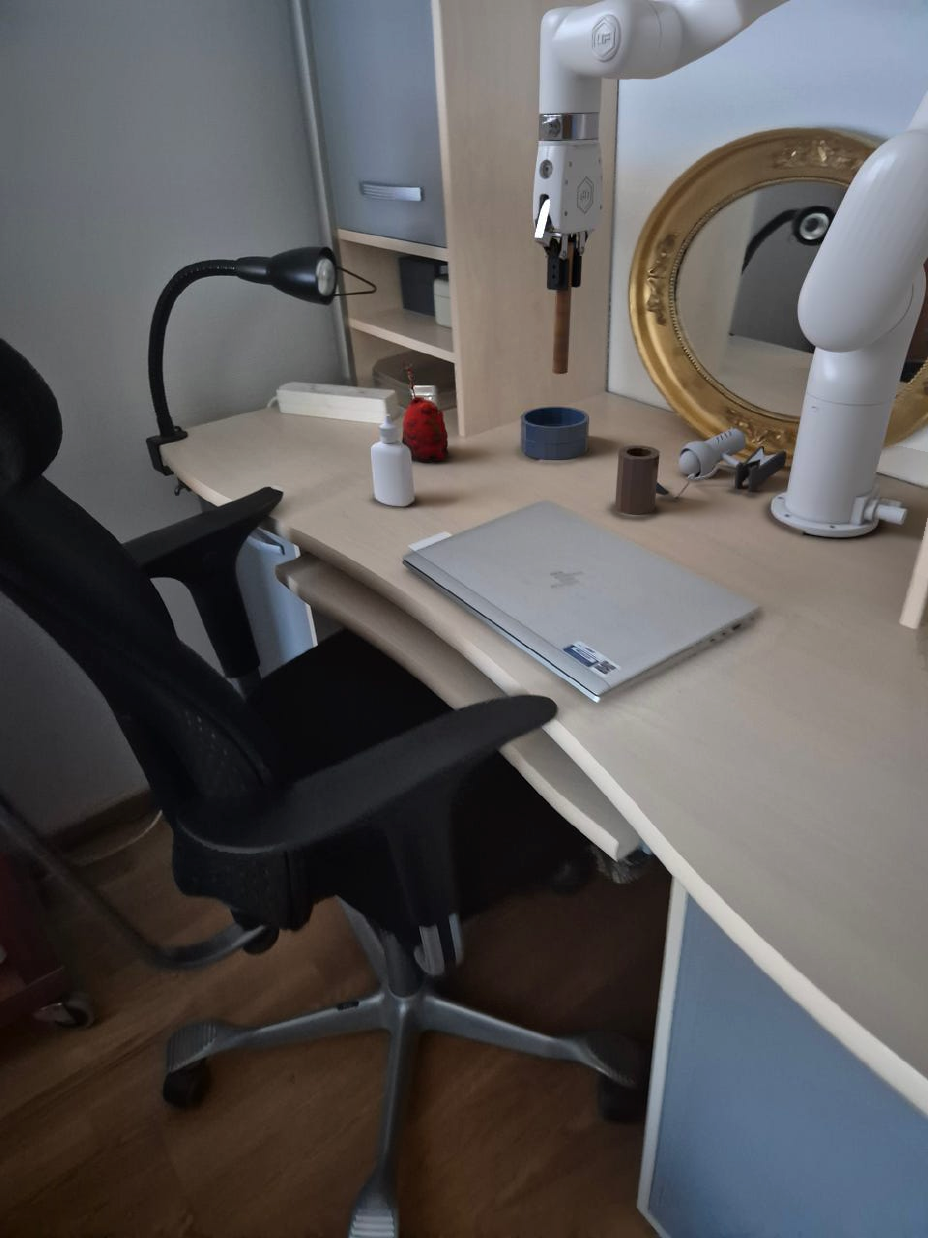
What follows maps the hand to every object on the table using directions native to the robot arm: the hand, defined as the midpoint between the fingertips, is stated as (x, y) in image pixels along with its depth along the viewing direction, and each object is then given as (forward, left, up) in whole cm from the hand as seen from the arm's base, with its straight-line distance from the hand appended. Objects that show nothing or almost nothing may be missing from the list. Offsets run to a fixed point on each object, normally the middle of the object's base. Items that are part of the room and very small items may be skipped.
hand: (563, 286), depth 110 cm
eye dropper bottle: (+9, +27, -24) cm, 37 cm away
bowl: (+2, -1, -24) cm, 24 cm away
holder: (-19, +11, -24) cm, 33 cm away
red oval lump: (+17, +12, -24) cm, 32 cm away
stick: (0, 0, -12) cm, 12 cm away
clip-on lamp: (-23, -2, -24) cm, 34 cm away
